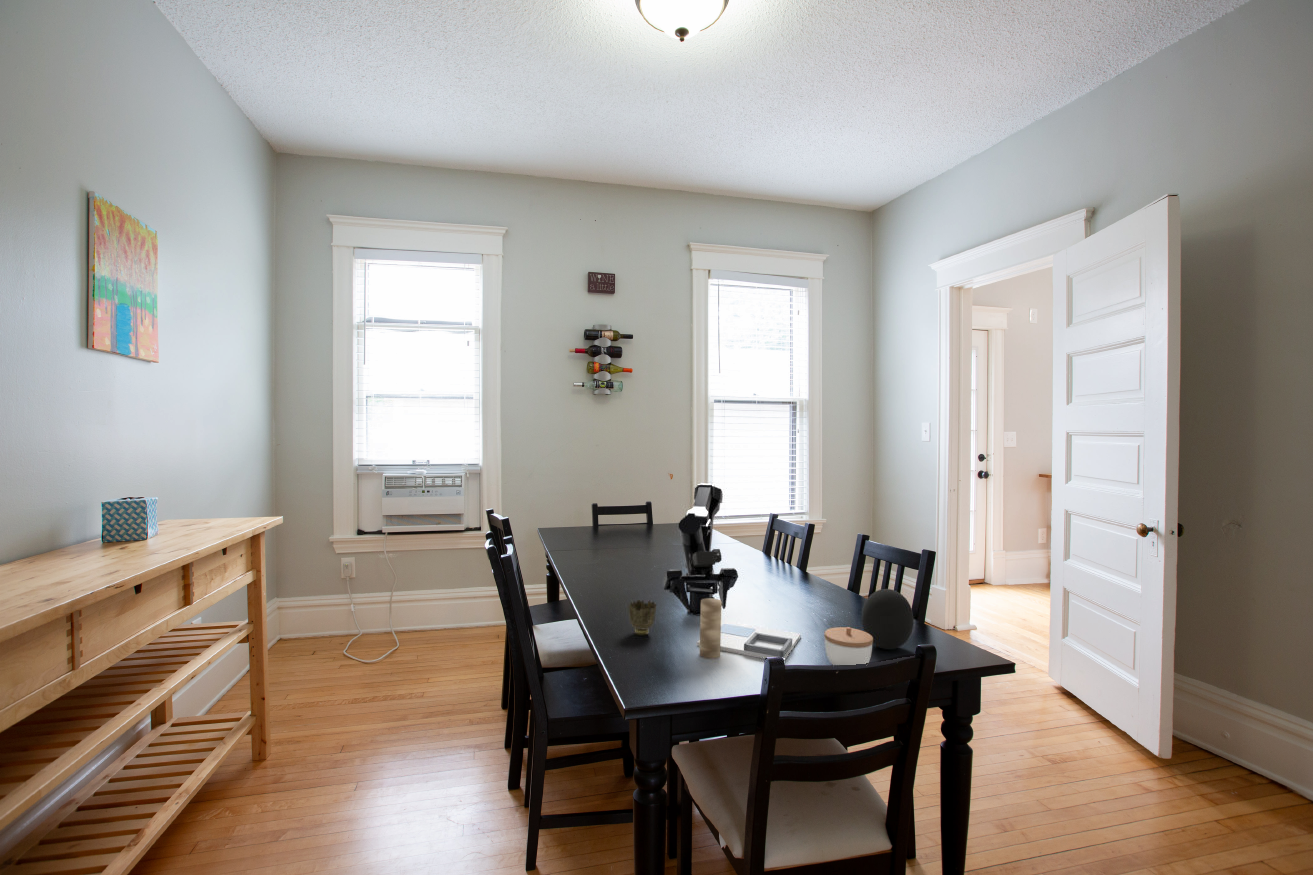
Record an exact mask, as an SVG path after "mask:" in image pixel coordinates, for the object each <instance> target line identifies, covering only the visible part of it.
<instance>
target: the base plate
mask: <svg viewBox="0 0 1313 875" xmlns="http://www.w3.org/2000/svg"><path fill="white" fill-rule="evenodd" d="M801 636H802V635H801V633H797V632H791V631H786V630H780V629H774V628H769V627H768V628H767V627H763V626H757V625H751V624H744V623H738V622H732V621H726V620H721V644H720V651H724V652H728V653H734V654H739V655H743V656H749V657H755V658H759V657H760V658H759V659H765V658H767V657H783V658H785V660H786V659H787V658H788V657H787V656H789V655H790V654H791V652H792V651H793V650H794V649H795V647H794V646H796V645H797V644H798V643H799V641H800V639H801ZM696 646H697V647H700V638H699V640H697V641H696ZM791 650H792V651H791ZM789 653H790V654H789ZM788 654H789V655H788ZM762 657H764V658H762ZM765 660H766V659H765Z"/></svg>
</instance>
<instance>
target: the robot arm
mask: <svg viewBox="0 0 1313 875" xmlns="http://www.w3.org/2000/svg"><path fill="white" fill-rule="evenodd" d="M723 497H724V496H723V490H722V489H721V488H720V487H717V486H715V485H714V484H712V483H699V484H697V486H696V487H694V492H693V500H694V502H693V506H692V508H690V509H688V510H687V511H686V513H685V516H684V517H683V518H682V519H680V521H679V522H678V529H679V534H680V540H681V544H682V549H683V554H684V559H685V560H684V561H685V564H684V565H685V569H687V572H686V573H685V574H683V570H682V569H679V568H678V569H667V570H666V571H665V573H664V577H663V580H662V586H663V590H664V591H668V592H669V593H671V594H674V596H675V597H676V598H677V599H678V600H679V601H680V603H681V604H682V605H683V606H684V608H685V610H687V611H686V614H690V615H696V616H700V615H701V600H702V599H706V598H713V599H715V597H714V595H715V594H718V596H719V600H721V601H722V606H721V609H723V610H725V609H726V607H727V605H726V604H727V598H728V591H729V590H730V589H732V588H734V586H735V584H736V582H737V581H738V578H739V574H738V573H739V572H738V571H737V570H736V568H735V567H731V568H729V567H728V568H727V567H725V568H723V567H722V568H720V571H719V573H715V570H714V566H715V565H716V564H717V563H721V561H722V552H721V550H720V548H713V549H712V540H713V528H714V518H715V516H716V515H717V513H718V512H719V511H720V508H721V504H722V503H723ZM711 549H712V550H711ZM687 593H689V598H688V594H687Z"/></svg>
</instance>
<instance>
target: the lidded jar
mask: <svg viewBox="0 0 1313 875" xmlns="http://www.w3.org/2000/svg"><path fill="white" fill-rule="evenodd" d="M824 649H825V653H826V654H825V655H826V656H827V659H828V660H829V662H830V663H831V664H832V665H833V666H834V665H856V664H866V663H868V664H869V662H870V660H871V657H872V652H873V637H872V636H871V635H870V634H868V633H866V632H864V630H861V629H857V628H852V627H850V626H847V627H845V626H844V627H840V626H839V627H831V628H828V629H825V631H824Z"/></svg>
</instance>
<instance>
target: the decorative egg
mask: <svg viewBox="0 0 1313 875" xmlns="http://www.w3.org/2000/svg"><path fill="white" fill-rule="evenodd" d="M907 599H908V598H906V597H905V596H904V595H903V594H901V593H900V592H898V591H897V590H895V589H890V588H881V589H878V590H876V591H874V592H873V593H871V594H870V595H869V596H868V597H867V599H865V601H864V604H863V607H862V609H861V610H862V611H861V626H862V629H863V631H864V632H866V633H868V634H870V635H871V636H872V637H873V643H872V645H873V644H874V646H876V647H878V648H880V649H883V650H895V649H898V648H900V647H902V646H904V644H905V643H907V641H908V640H909V639H910V637H911V636H912V633H913V629H914V623H915V621H914V620H915V619H914V612H913V610H912V606H911V604H910V602H909V601H908V600H907Z"/></svg>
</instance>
